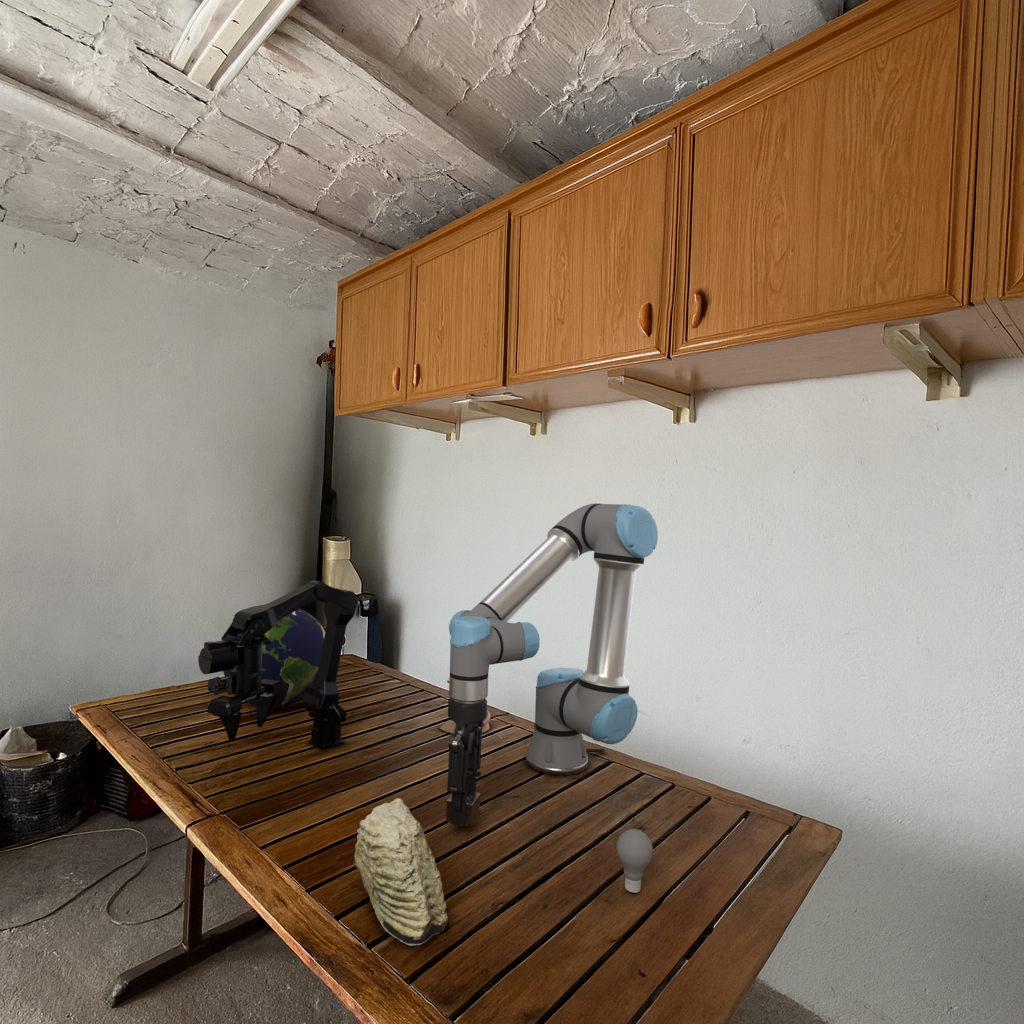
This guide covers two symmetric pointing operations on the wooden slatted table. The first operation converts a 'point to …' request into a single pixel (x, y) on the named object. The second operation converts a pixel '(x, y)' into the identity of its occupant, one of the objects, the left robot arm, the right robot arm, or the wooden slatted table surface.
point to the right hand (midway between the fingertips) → (463, 816)
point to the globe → (292, 655)
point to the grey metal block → (467, 808)
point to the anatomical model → (452, 725)
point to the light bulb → (634, 857)
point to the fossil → (400, 874)
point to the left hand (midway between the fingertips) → (246, 733)
